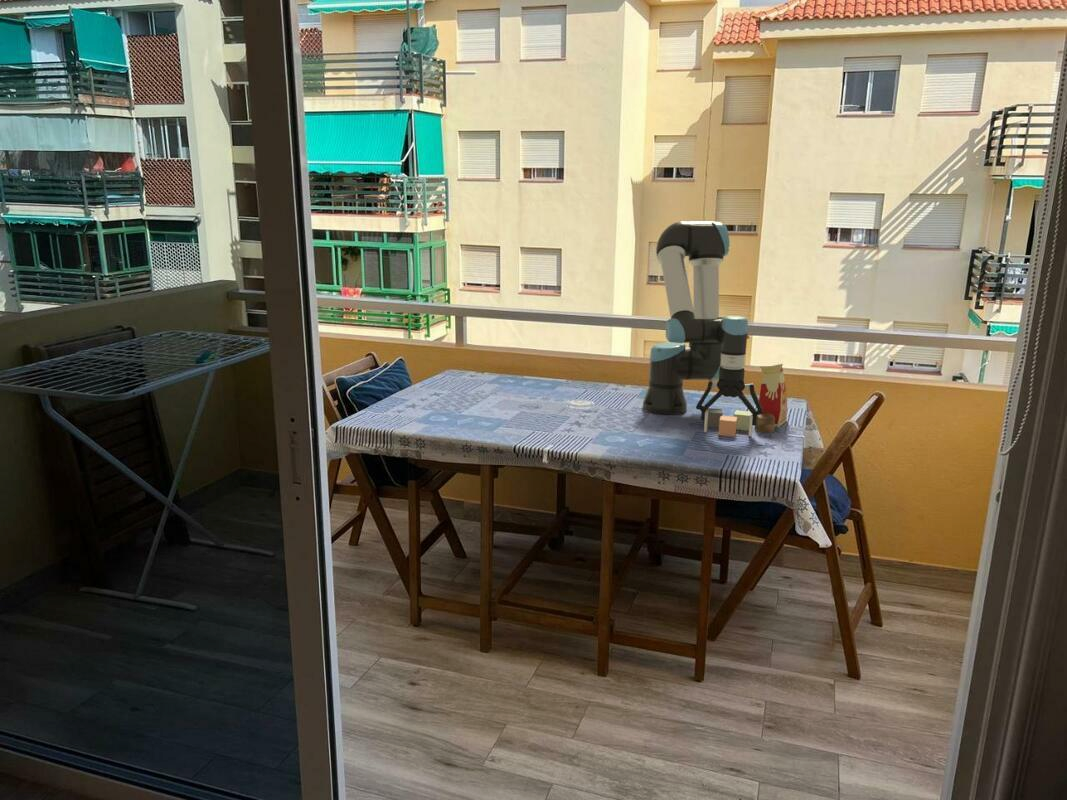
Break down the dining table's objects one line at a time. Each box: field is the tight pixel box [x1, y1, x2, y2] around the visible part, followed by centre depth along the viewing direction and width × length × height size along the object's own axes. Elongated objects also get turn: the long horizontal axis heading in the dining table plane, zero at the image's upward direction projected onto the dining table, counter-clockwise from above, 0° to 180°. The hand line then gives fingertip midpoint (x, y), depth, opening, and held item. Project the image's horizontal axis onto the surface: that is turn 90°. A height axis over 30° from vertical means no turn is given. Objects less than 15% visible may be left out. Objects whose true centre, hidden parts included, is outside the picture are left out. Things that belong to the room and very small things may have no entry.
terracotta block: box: [718, 415, 737, 437], centre depth 244 cm, size 5×5×5 cm
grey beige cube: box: [707, 407, 724, 428], centre depth 252 cm, size 5×5×5 cm
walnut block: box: [754, 414, 776, 434], centre depth 247 cm, size 5×5×5 cm
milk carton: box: [758, 363, 788, 428], centre depth 254 cm, size 9×9×20 cm
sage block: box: [733, 409, 752, 431], centre depth 250 cm, size 5×5×5 cm
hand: (727, 433), depth 244 cm, fingers open, 13 cm apart
